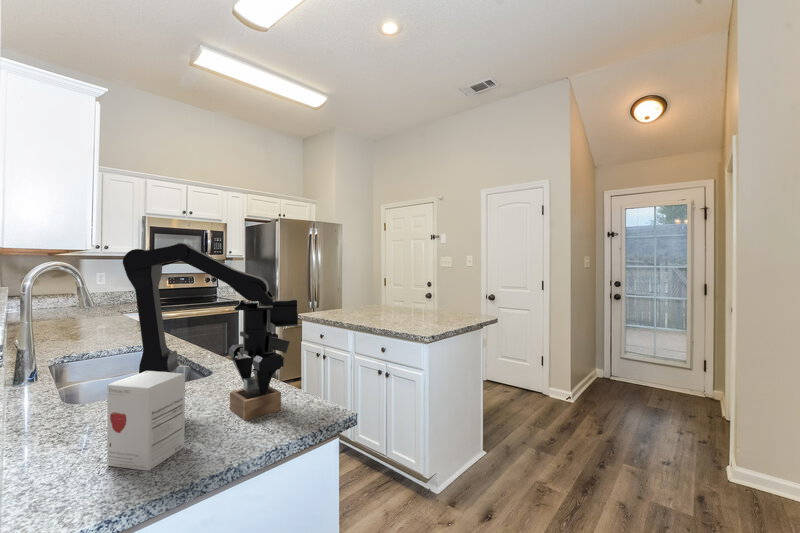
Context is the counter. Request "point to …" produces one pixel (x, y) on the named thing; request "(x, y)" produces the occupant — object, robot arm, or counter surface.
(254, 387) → the bracket
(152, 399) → the supplement box
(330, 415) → the counter surface
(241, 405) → the square frame
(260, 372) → the robot arm
